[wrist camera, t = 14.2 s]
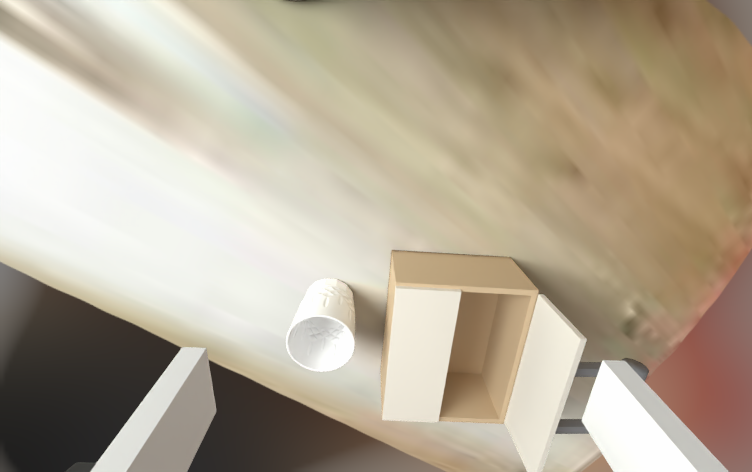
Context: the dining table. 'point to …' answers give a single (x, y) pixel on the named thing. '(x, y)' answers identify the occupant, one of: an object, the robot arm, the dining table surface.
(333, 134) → the dining table surface
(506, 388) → the cabinet
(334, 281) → the white cup
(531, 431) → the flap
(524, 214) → the dining table surface
